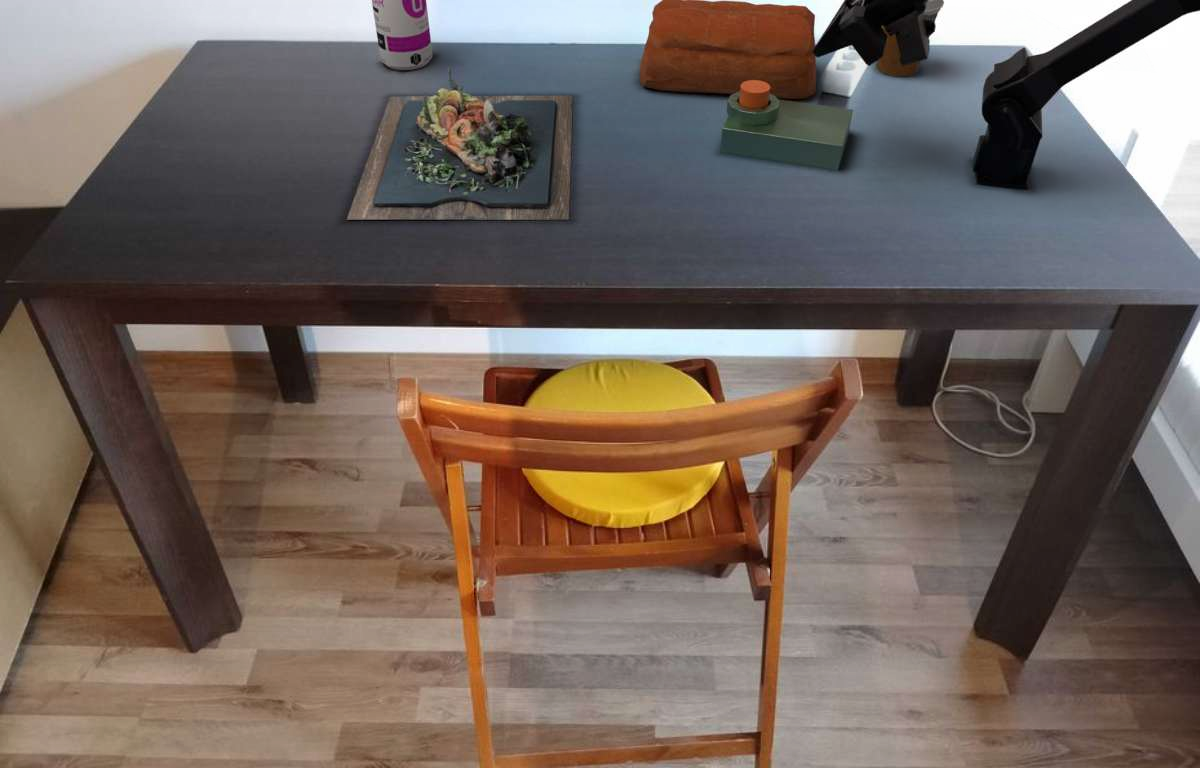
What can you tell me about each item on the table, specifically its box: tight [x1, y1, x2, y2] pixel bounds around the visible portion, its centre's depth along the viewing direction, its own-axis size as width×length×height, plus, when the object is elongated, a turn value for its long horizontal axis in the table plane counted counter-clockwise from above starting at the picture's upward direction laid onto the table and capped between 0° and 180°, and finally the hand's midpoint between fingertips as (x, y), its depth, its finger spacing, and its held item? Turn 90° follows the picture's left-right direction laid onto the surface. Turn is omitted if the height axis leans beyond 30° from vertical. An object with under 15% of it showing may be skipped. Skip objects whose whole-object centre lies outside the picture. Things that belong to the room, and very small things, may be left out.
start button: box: [739, 80, 770, 109], centre depth 133 cm, size 4×4×3 cm
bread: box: [638, 0, 817, 100], centre depth 148 cm, size 16×27×11 cm, turn 81°
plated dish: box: [346, 66, 574, 221], centre depth 132 cm, size 35×28×7 cm
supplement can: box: [371, 0, 433, 71], centre depth 151 cm, size 8×8×15 cm
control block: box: [719, 91, 854, 172], centre depth 134 cm, size 16×11×6 cm
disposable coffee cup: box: [876, 0, 945, 77], centre depth 150 cm, size 10×10×12 cm
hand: (814, 53), depth 127 cm, fingers closed
